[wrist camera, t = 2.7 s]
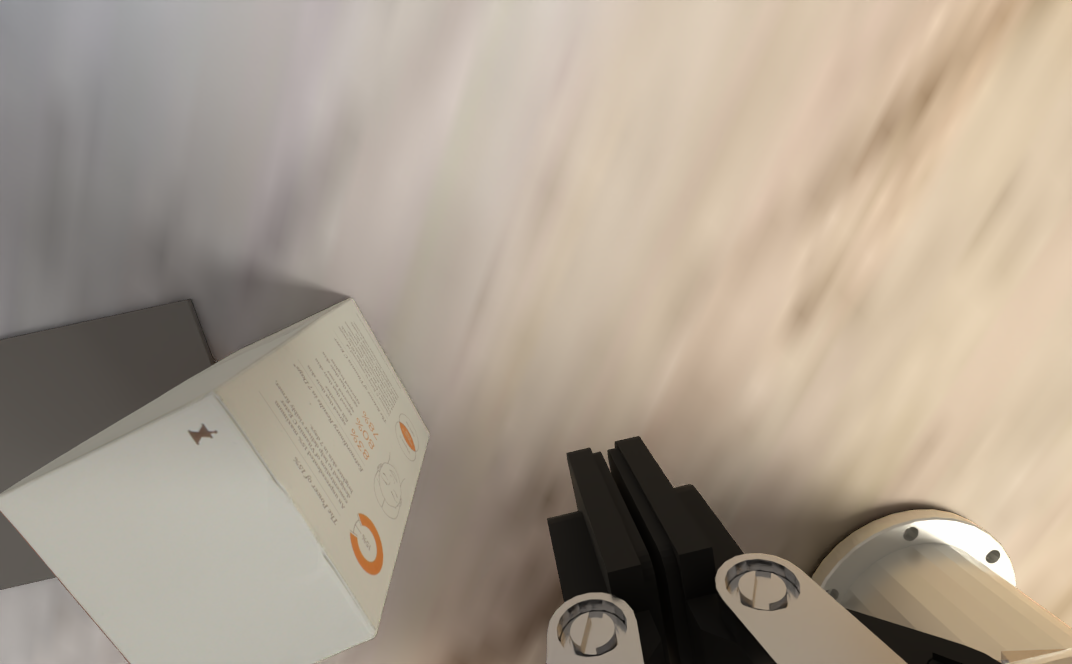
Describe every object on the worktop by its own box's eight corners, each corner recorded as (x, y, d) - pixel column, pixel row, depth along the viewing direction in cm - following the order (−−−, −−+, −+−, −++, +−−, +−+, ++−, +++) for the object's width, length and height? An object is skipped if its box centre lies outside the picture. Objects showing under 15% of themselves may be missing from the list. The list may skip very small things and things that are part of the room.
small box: (233, 351, 25) (-24, 497, 13) (353, 293, 25) (214, 383, 12) (321, 489, 27) (176, 734, 15) (433, 436, 27) (384, 638, 14)
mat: (274, 524, 27) (272, 527, 27) (-1, 587, 27) (-6, 591, 27) (190, 299, 25) (186, 300, 24) (-119, 365, 24) (-127, 367, 24)
